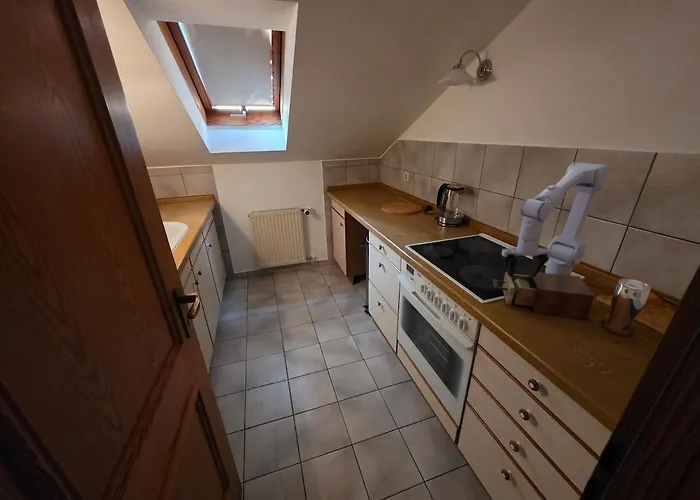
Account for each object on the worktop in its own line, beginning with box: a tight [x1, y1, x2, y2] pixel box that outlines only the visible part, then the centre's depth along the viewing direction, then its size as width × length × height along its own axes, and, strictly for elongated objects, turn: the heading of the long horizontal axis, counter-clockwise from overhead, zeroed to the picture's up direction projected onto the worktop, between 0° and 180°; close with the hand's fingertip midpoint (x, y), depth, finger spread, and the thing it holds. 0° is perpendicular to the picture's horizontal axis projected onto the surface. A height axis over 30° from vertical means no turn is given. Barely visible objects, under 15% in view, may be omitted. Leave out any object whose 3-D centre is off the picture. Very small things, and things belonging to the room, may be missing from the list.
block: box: [513, 279, 530, 295], centre depth 101 cm, size 4×4×4 cm
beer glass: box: [603, 278, 652, 336], centre depth 85 cm, size 7×7×15 cm
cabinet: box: [529, 271, 595, 320], centre depth 98 cm, size 15×13×9 cm
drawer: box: [492, 271, 538, 307], centre depth 101 cm, size 18×11×7 cm, turn 72°
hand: (521, 275), depth 100 cm, fingers open, 7 cm apart
